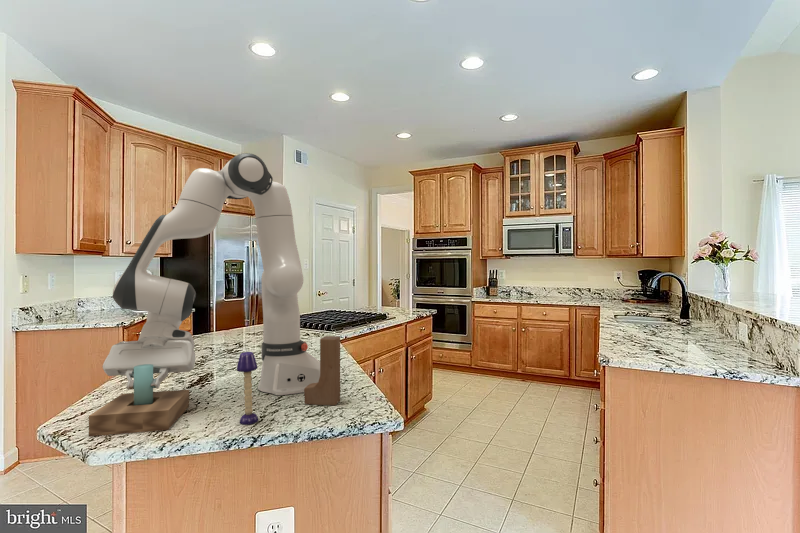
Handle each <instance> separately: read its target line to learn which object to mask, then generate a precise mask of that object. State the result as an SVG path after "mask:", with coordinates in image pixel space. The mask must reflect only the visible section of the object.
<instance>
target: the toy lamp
mask: <svg viewBox="0 0 800 533" xmlns="http://www.w3.org/2000/svg"><path fill="white" fill-rule="evenodd" d="M237 362H238V363H237V366H236V371H237V372H239V373H243V376H244V377H243V389H244V390H243V392H244V394H243V395H244V398H243V399H244V407H245V408H244V414H242V415H241V417H240V419H239V424H240V425H242V426H243V425H244V426H248V425H253V424H256V423H257V422H258V421H259V417H258V414H256V413H254V412H253V411H254V410H253V395H252V393H253V389H252V387H253V383H252V380H253V378H252V372H253V371H255V370H257V369H258V364H257V360H256V356H255V354H254V352H252V351H245V352H241V353H240V354H239V357H238V361H237Z"/></svg>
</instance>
